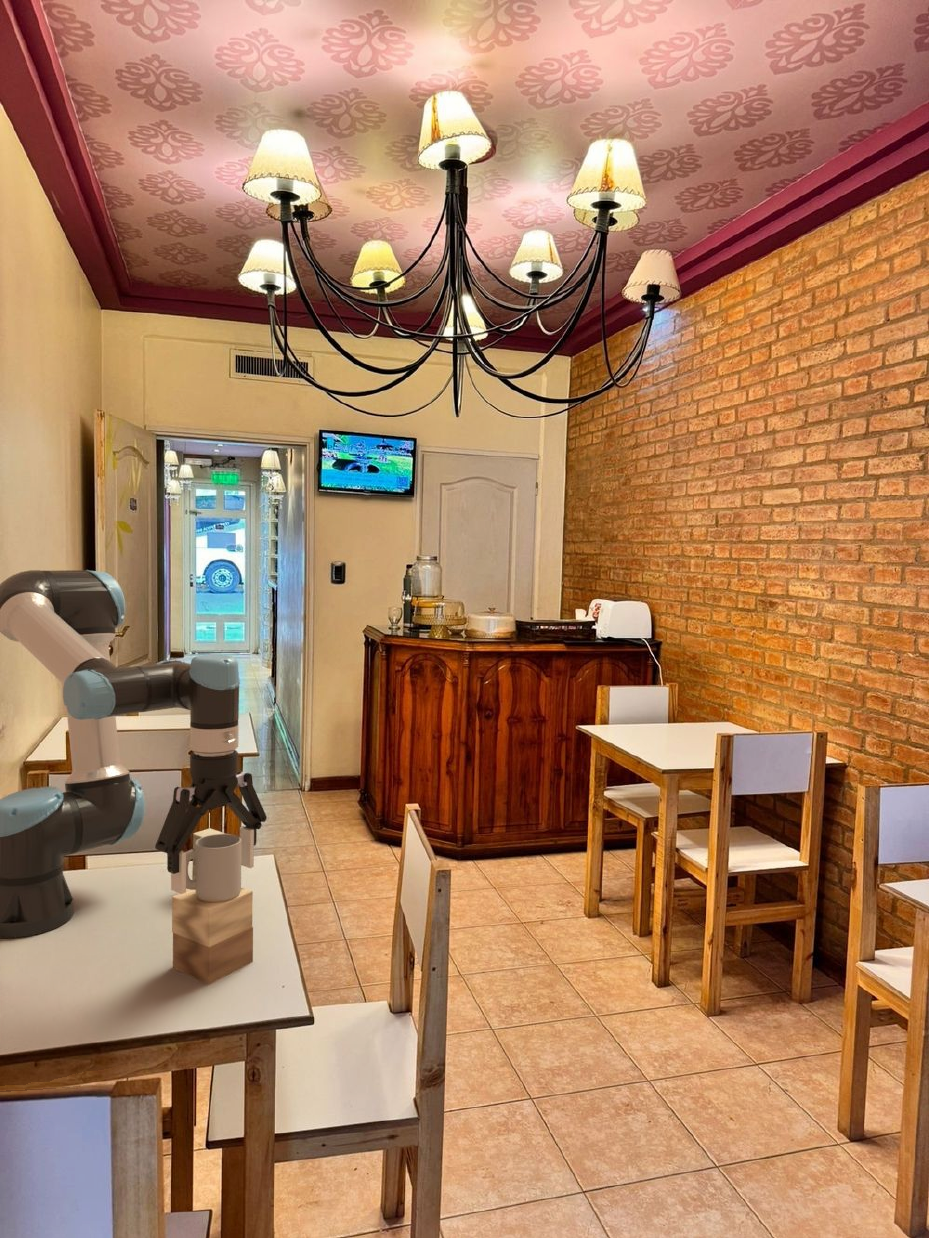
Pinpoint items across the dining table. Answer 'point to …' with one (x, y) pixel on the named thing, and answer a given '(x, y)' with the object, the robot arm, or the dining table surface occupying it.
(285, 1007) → the dining table surface
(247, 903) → the beech block
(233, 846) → the cup
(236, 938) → the walnut block
